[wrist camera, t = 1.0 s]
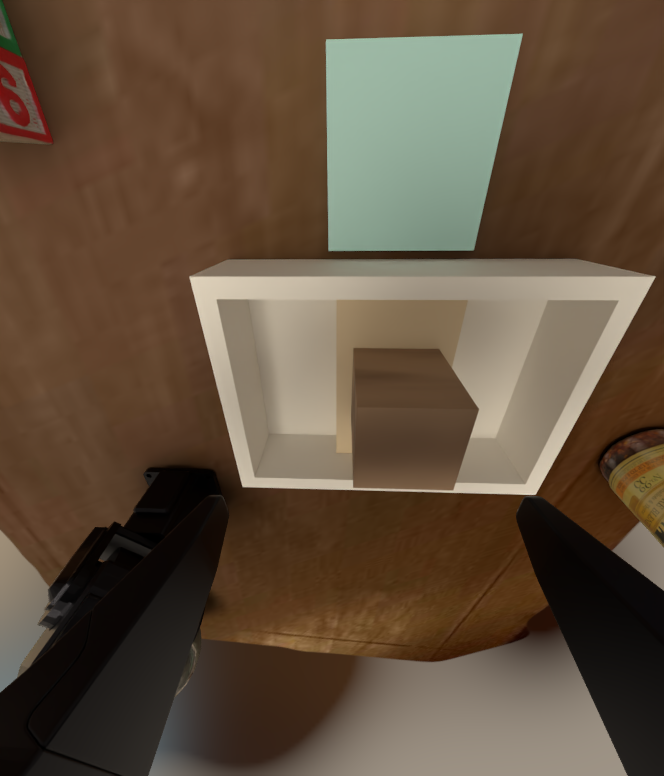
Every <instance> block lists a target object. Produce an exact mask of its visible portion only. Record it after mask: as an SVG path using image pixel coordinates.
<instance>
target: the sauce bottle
mask: <svg viewBox="0 0 664 776" xmlns="http://www.w3.org/2000/svg"><path fill="white" fill-rule="evenodd" d="M599 466H600V470H601V472H602V474H603V476H604V477H605V479H606V480H607V481H609V485H610V487H611V489H612V490H613V491H614V492H615V493H616V494H617V496H618V497H619V498H620V499H621V500H622V501H623V502H624V503H625V505H626V506H627V507H628V508H629V509H630V510H631V511H632V512H633V514H634V515H635V516H636V517H637V518H638V519H639V520H640V521H641V522H642V524H643V525H644V526H645V527H646V528H647V529H648V530H649V531H650V532H651V534H652V535H653V536H654V537H655V538H656V539H657V540H658V542H659V543H660V544H661V545H662V546H663V547H664V429H655V430H649V431H644V432H640V433H638V434H634V435H631V436H629V437H626V438H625V439H623V440H621V441H619V442H617V443H616V444H614V445H612V446H611V448H610V449H609V450H608V451H607V453H606V454H605V455H604V456H603V458H602V460H601V461H600V464H599Z"/></svg>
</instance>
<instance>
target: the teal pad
mask: <svg viewBox="0 0 664 776" xmlns="http://www.w3.org/2000/svg"><path fill="white" fill-rule="evenodd" d="M522 35H523V34H500V35H467V36H433V37H399V38H365V39H331V40H326V88H327V168H328V249H329V251H471V250H474V247H475V242H476V238H477V234H478V229H479V225H480V220H481V216H482V212H483V207H484V203H485V198H486V194H487V189H488V185H489V181H490V176H491V172H492V167H493V163H494V159H495V154H496V150H497V145H498V141H499V137H500V132H501V128H502V123H503V119H504V115H505V110H506V106H507V101H508V97H509V93H510V88H511V84H512V79H513V75H514V70H515V66H516V62H517V57H518V53H519V48H520V44H521V40H522Z"/></svg>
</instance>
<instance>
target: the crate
mask: <svg viewBox="0 0 664 776" xmlns="http://www.w3.org/2000/svg"><path fill="white" fill-rule="evenodd" d="M654 279H655V276H651V275H646V274H642V273H637V272H633V271H628V270H624V269H619V268H615V267H611V266H606V265H602V264H597V263H593V262H588V261H584V260H579V259H228V260H225V261H223V262H221V263H219V264H216V265H214V266H212V267H210V268H207V269H205V270H203V271H201V272H199V273H196V274H194V275H192V276H190V281H191V285H192V289H193V293H194V297H195V301H196V305H197V309H198V313H199V317H200V321H201V324H202V328H203V332H204V336H205V340H206V344H207V348H208V352H209V356H210V360H211V364H212V368H213V372H214V376H215V380H216V384H217V388H218V392H219V396H220V400H221V404H222V408H223V412H224V416H225V419H226V423H227V427H228V431H229V435H230V439H231V443H232V447H233V451H234V455H235V459H236V463H237V467H238V471H239V475H240V479H241V483H242V487H261V488H299V489H336V490H373V491H411V492H448V493H486V494H523V495H536V493H537V491H538V489H539V488H540V486H541V484H542V482H543V480H544V479H545V477H546V475H547V473H548V471H549V469H550V468H551V466H552V464H553V462H554V460H555V459H556V457H557V455H558V453H559V451H560V450H561V448H562V446H563V444H564V442H565V440H566V439H567V437H568V435H569V433H570V431H571V430H572V428H573V426H574V424H575V422H576V420H577V419H578V417H579V415H580V413H581V411H582V410H583V408H584V406H585V404H586V402H587V400H588V399H589V397H590V395H591V393H592V391H593V390H594V388H595V386H596V384H597V382H598V381H599V379H600V377H601V375H602V373H603V371H604V370H605V368H606V366H607V364H608V362H609V361H610V359H611V357H612V355H613V353H614V351H615V350H616V348H617V346H618V344H619V342H620V341H621V339H622V337H623V335H624V333H625V331H626V330H627V328H628V326H629V324H630V322H631V321H632V319H633V317H634V315H635V313H636V311H637V310H638V308H639V306H640V304H641V302H642V301H643V299H644V297H645V295H646V293H647V292H648V290H649V288H650V286H651V284H652V282H653V281H654ZM353 348H400V349H440V351H441V353H442V354H443V356H444V357H445V359H446V360H447V362H448V363H449V365H450V366H451V368H452V369H453V371H454V372H455V374H456V375H457V377H458V378H459V380H460V381H461V383H462V384H463V386H464V387H465V389H466V390H467V392H468V393H469V395H470V396H471V398H472V399H473V401H474V402H475V404H476V405H477V407H478V408H479V411H478V415H477V418H476V421H475V424H474V427H473V430H472V433H471V436H470V440H469V443H468V446H467V449H466V452H465V455H464V458H463V461H462V465H461V468H460V471H459V474H458V477H457V480H456V483H455V486H454V490H420V489H382V488H353V466H352V430H351V404H352V374H353Z"/></svg>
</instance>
